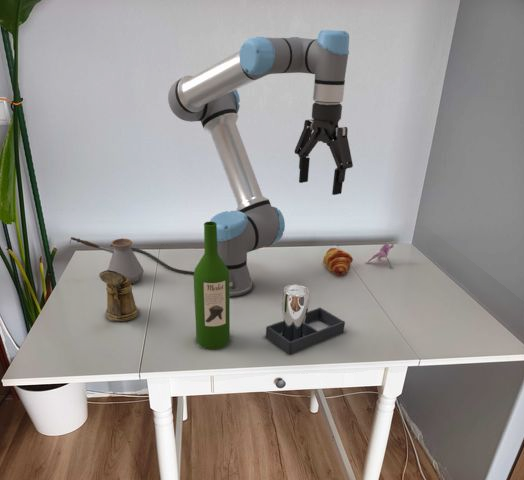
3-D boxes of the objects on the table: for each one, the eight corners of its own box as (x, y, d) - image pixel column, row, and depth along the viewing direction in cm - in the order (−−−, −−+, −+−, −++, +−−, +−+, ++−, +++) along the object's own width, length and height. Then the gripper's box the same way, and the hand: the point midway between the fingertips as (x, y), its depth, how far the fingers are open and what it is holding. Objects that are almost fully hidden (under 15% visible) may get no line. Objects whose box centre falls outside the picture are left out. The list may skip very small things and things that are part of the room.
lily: (395, 261, 187) (388, 237, 185) (410, 261, 176) (402, 236, 173) (367, 274, 186) (359, 249, 184) (380, 275, 174) (371, 249, 172)
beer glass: (303, 348, 133) (307, 297, 125) (277, 344, 134) (280, 294, 126) (306, 334, 138) (311, 285, 130) (281, 331, 140) (285, 282, 131)
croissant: (324, 263, 189) (316, 245, 186) (349, 252, 187) (341, 233, 183) (332, 286, 171) (323, 267, 168) (359, 274, 169) (351, 254, 165)
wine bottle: (202, 352, 130) (197, 231, 112) (192, 335, 137) (186, 219, 119) (234, 345, 133) (234, 227, 115) (223, 329, 140) (221, 215, 122)
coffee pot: (144, 271, 170) (140, 228, 162) (143, 286, 160) (138, 241, 152) (79, 273, 167) (71, 230, 158) (74, 289, 157) (65, 244, 149)
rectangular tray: (265, 337, 137) (266, 326, 135) (318, 317, 147) (320, 307, 145) (289, 354, 130) (290, 343, 128) (343, 332, 141) (344, 321, 139)
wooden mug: (99, 330, 137) (89, 270, 127) (110, 306, 148) (101, 249, 138) (132, 330, 138) (124, 270, 128) (140, 307, 149) (134, 250, 139)
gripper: (374, 108, 120) (361, 197, 131) (306, 96, 136) (300, 175, 148) (352, 110, 116) (341, 201, 127) (285, 97, 132) (280, 179, 144)
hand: (319, 187), depth 138 cm, fingers open, 13 cm apart
